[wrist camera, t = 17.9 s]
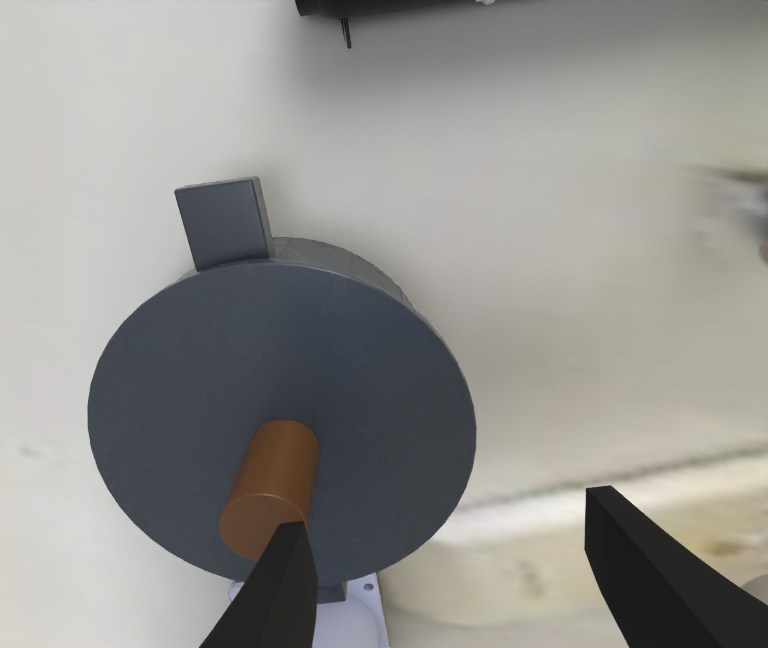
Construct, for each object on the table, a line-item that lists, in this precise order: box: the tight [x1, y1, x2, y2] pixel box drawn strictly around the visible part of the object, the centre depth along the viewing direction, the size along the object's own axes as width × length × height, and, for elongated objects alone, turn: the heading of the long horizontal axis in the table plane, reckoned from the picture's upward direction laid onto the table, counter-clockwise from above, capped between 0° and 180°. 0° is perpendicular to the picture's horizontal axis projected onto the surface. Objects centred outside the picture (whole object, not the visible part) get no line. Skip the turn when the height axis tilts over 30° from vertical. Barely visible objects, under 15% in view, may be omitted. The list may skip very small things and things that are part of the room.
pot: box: [174, 176, 414, 604], centre depth 20 cm, size 12×18×6 cm
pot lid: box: [88, 258, 476, 587], centre depth 16 cm, size 13×13×5 cm
